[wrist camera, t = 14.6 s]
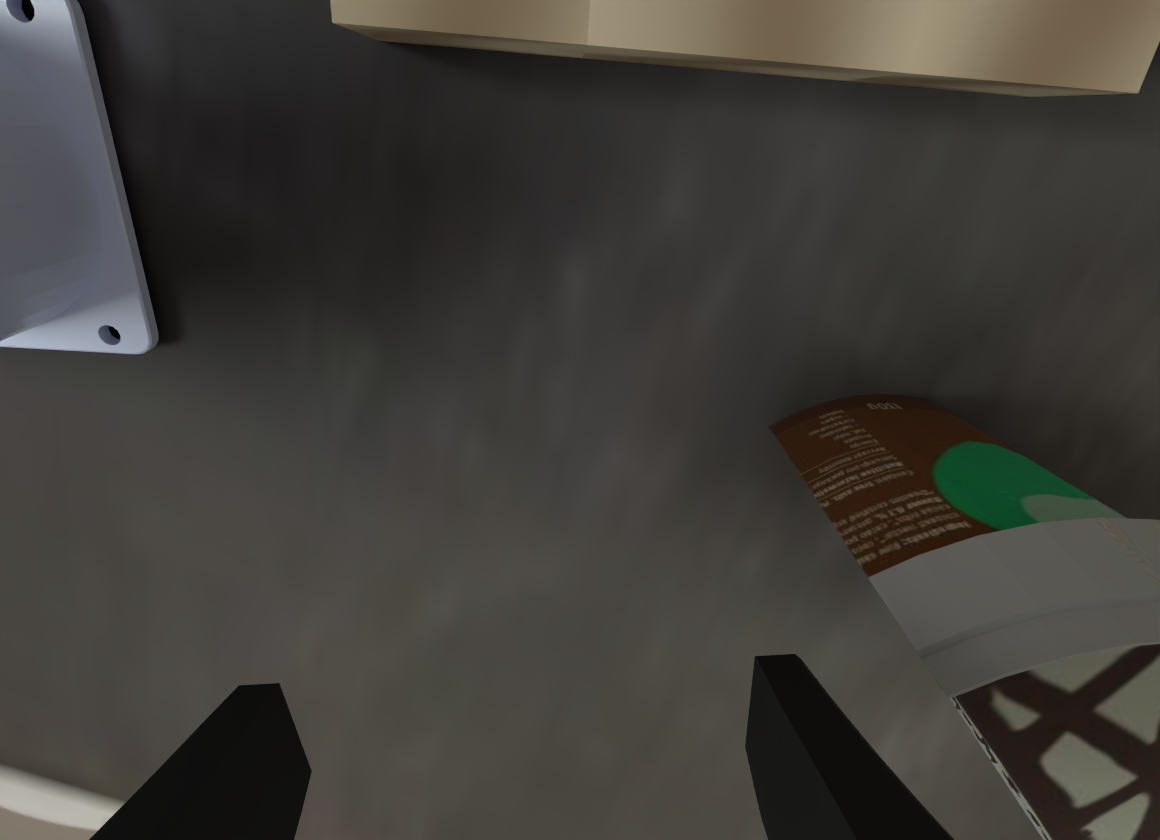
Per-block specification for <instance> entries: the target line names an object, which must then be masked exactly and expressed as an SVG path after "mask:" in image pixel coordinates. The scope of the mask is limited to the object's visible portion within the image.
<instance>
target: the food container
mask: <svg viewBox="0 0 1160 840" xmlns="http://www.w3.org/2000/svg"><path fill="white" fill-rule="evenodd" d="M769 429H770V430H771V432H772V433H773V435H774V436H775V438H776V439H777V441H778V442H779V444H780V445H781V447H782V448H783V450H784V451H785V453H786V454H787V456H788V457H789V459H790V461H791V462H792V464H793V465H794V467H795V468H796V470H797V471H798V473H799V474H800V476H801V477H802V479H803V480H804V482H805V483H806V485H807V486H808V488H809V489H810V491H811V492H812V494H813V495H814V497H815V498H816V500H817V501H818V503H819V504H820V506H821V507H822V509H823V510H824V512H825V513H826V515H827V516H828V518H829V519H830V521H831V522H832V524H833V525H834V527H835V529H836V530H837V532H838V533H839V535H840V536H841V538H842V539H843V541H844V542H845V544H846V545H847V547H848V548H849V550H850V551H851V553H852V554H853V556H854V557H855V559H856V560H857V562H858V563H859V565H860V566H861V568H862V569H863V571H864V572H865V574H866V575H867V577H868V579H869V580H870V582H871V583H872V585H873V586H874V588H875V589H876V591H877V592H878V594H879V595H880V597H881V598H882V600H883V601H884V603H885V604H886V606H887V607H888V609H889V610H890V612H891V613H892V615H893V616H894V618H895V619H896V621H897V622H898V624H899V625H900V627H901V628H902V630H903V631H904V633H905V634H906V636H907V637H908V639H909V640H910V642H911V643H912V645H913V646H914V648H915V650H916V651H917V653H918V654H919V655H920V657H921V658H922V660H923V661H924V663H925V664H926V666H927V668H928V669H929V671H930V672H931V674H932V675H933V677H934V678H935V680H936V681H937V683H938V684H939V686H940V687H941V689H942V690H943V692H944V693H945V695H946V696H947V698H948V699H950V700H951V701H952V703H953V704H954V706H955V707H956V709H957V710H958V712H959V713H960V715H961V716H962V718H963V719H964V721H965V722H966V724H967V725H968V727H969V728H970V730H971V731H972V733H973V734H974V736H975V737H976V739H977V741H978V742H979V744H980V745H981V747H982V748H983V750H984V751H985V753H986V754H987V756H988V757H989V759H990V760H991V762H992V763H993V765H994V766H995V768H996V769H997V771H998V772H999V774H1000V775H1001V777H1002V778H1003V780H1004V781H1005V783H1006V784H1007V786H1008V787H1009V789H1010V790H1011V792H1012V793H1013V795H1014V796H1015V798H1016V799H1017V801H1018V802H1019V804H1020V805H1021V807H1022V808H1023V810H1024V811H1025V813H1026V814H1027V816H1028V817H1029V819H1030V820H1031V822H1032V823H1033V825H1034V826H1035V828H1036V829H1037V831H1038V832H1039V834H1040V835H1041V837H1042V838H1043V840H1160V520H1153V519H1129V518H1126V517H1124V516H1122V515H1121V514H1119V513H1117V512H1116V511H1114V510H1112V509H1111V508H1109V507H1107V506H1106V505H1104V504H1102V503H1101V502H1099V501H1097V500H1096V499H1094V498H1092V497H1091V496H1089V495H1087V494H1086V493H1084V492H1082V491H1081V490H1079V489H1078V488H1076V487H1074V486H1073V485H1071V484H1069V483H1068V482H1066V481H1064V480H1063V479H1061V478H1059V477H1058V476H1056V475H1054V474H1053V473H1051V472H1049V471H1048V470H1046V469H1044V468H1043V467H1041V466H1039V465H1038V464H1036V463H1034V462H1033V461H1031V460H1029V459H1028V458H1026V457H1025V456H1023V455H1021V454H1020V453H1018V452H1016V451H1015V450H1013V449H1011V448H1010V447H1008V446H1006V445H1005V444H1003V443H1001V442H1000V441H998V440H996V439H995V438H993V437H991V436H990V435H988V434H986V433H985V432H983V431H981V430H980V429H978V428H976V427H975V426H973V425H972V424H970V423H968V422H967V421H965V420H963V419H962V418H960V417H958V416H957V415H955V414H953V413H952V412H950V411H948V410H947V409H945V408H943V407H940V406H937V405H935V404H932V403H930V402H927V401H924V400H921V399H915V398H910V397H905V396H900V395H877V394H873V395H863V396H853V397H846V398H842V399H837V400H833V401H829V402H825V403H821V404H818V405H815V406H813V407H810V408H807V409H805V410H802V411H800V412H797V413H794V414H793V415H791V416H789V417H787V418H785V419H783V420H781V421H779V422H778V423H776V424H774V425H772V426H770V427H769Z"/></svg>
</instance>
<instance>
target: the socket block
mask: <svg viewBox="0 0 1160 840" xmlns="http://www.w3.org/2000/svg"><path fill="white" fill-rule="evenodd" d="M330 3H331V14H332V23H334V24H337V25H339V26H342V27H344V28H347V29H349V30H352V31H355V32H357V33H360V34H362V35H365V36H367V37H370V38H372V39H375V40H377V41H389V42H400V43H412V44H424V45H435V46H447V47H458V48H470V49H482V50H493V51H505V52H516V53H528V54H539V55H551V56H563V57H574V58H586V59H597V60H609V61H620V62H632V63H644V64H655V65H667V66H678V67H690V68H701V69H713V70H725V71H736V72H748V73H759V74H771V75H782V76H794V77H806V78H817V79H829V80H840V81H852V82H864V83H875V84H887V85H898V86H910V87H921V88H933V89H945V90H956V91H968V92H979V93H991V94H1002V95H1014V96H1026V97H1045V96H1074V95H1103V94H1133V93H1139V90H1140V88H1141V85H1142V83H1143V80H1144V78H1145V76H1146V73H1147V71H1148V68H1149V66H1150V64H1151V61H1152V59H1153V56H1154V54H1155V51H1156V49H1157V47H1158V44H1159V42H1160V0H330Z"/></svg>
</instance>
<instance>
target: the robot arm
mask: <svg viewBox="0 0 1160 840" xmlns="http://www.w3.org/2000/svg"><path fill="white" fill-rule="evenodd" d="M30 1H31V3H32V5H33V7H34V14H35V16H34V18H33V19H32V21H30V20H29V19H28V18H26V16H25V14H24V12H23V10H22V0H0V347H14V348H31V349H49V350H67V351H85V352H103V353H120V354H143V353H145V352H147V351H148V350H150V349H152V348H153V347H155V346H156V344H157V342H158V340H159V338H158V329H157V325H156V321H155V317H154V312H153V308H152V304H151V300H150V295H149V291H148V287H147V283H146V278H145V274H144V270H143V266H142V261H141V257H140V253H139V249H138V244H137V240H136V236H135V232H134V227H133V223H132V219H131V214H130V210H129V206H128V202H127V197H126V193H125V189H124V185H123V180H122V176H121V172H120V168H119V163H118V159H117V155H116V151H115V146H114V142H113V138H112V134H111V129H110V125H109V121H108V117H107V112H106V108H105V104H104V100H103V95H102V91H101V87H100V83H99V78H98V74H97V70H96V65H95V61H94V57H93V53H92V48H91V44H90V40H89V36H88V31H87V27H86V23H85V19H84V14H83V12H82V9H81V7H80V4H79V3H78V1H77V0H30ZM109 326H112V327H114V328H115V329H116V330H117V331H118V332H119V334H120V336H121V339H120V340H119V339H116V338H115V337H114V336H112V335H111V333H110V331H109ZM745 747H746V752H747V756H748V761H749V765H750V770H751V775H752V779H753V784H754V788H755V792H756V797H757V801H758V805H759V809H760V814H761V818H762V821H763V825H764V828H765V831H766V834H767V837H768V840H954V839H953V838H952V837H951V836H950V835H949V834H948V833H947V831H946V830H945V829H944V828H943V827H942V826H941V825H940V824H939V823H938V822H937V821H936V820H935V818H934V817H933V816H932V815H931V814H930V813H929V812H928V811H927V810H926V809H925V808H924V806H923V805H922V804H921V803H920V802H919V801H918V800H917V799H916V797H915V796H914V795H913V794H912V793H911V792H910V791H909V789H908V788H907V787H906V786H905V785H904V784H903V783H902V782H901V780H900V779H899V778H898V777H897V776H896V775H895V774H894V772H893V771H892V770H891V769H890V768H889V767H888V766H887V764H886V763H885V762H884V761H883V760H882V759H881V758H880V756H879V755H878V754H877V753H876V752H875V751H874V749H873V748H872V747H871V746H870V745H869V743H868V742H867V741H866V740H865V739H864V737H863V736H862V735H861V734H860V733H859V731H858V730H857V729H856V728H855V727H854V725H853V724H852V723H851V722H850V720H849V719H848V718H847V717H846V716H845V714H844V713H843V712H842V711H841V709H840V708H839V707H838V706H837V704H836V703H835V702H834V701H833V699H832V698H831V697H830V696H829V694H828V693H827V692H826V691H825V689H824V688H823V687H822V685H821V684H820V683H819V682H818V680H817V679H816V678H815V676H814V675H813V674H812V673H811V671H810V670H809V669H808V667H807V666H806V665H805V664H804V662H803V661H802V660H801V659H800V658H799V657H798V656H797V655H796V654H788V655H770V656H755V661H754V670H753V680H752V689H751V698H750V707H749V717H748V726H747V735H746V744H745ZM311 772H312V771H311V768H310V766H309V763H308V760H307V757H306V755H305V752H304V749H303V747H302V744H301V741H300V738H299V736H298V733H297V730H296V727H295V725H294V722H293V719H292V717H291V714H290V711H289V708H288V706H287V703H286V700H285V697H284V695H283V692H282V689H281V687H280V684H279V683H275V684H258V685H240V686H238V687H237V688H236V689H235V690H234V691H233V692H232V693H231V694H230V695H229V696H228V697H227V698H226V699H225V700H224V701H223V702H222V703H221V704H220V706H219V707H218V708H217V709H216V710H215V711H214V712H213V713H212V714H211V715H210V716H209V717H208V718H207V719H206V720H205V721H204V722H203V723H202V724H201V725H200V726H199V727H198V728H197V729H196V730H195V732H194V733H193V734H192V735H191V736H190V737H189V738H188V739H187V740H186V741H185V742H184V743H183V744H182V745H181V746H180V747H179V748H178V749H177V750H176V751H175V752H174V753H173V754H172V756H171V757H170V758H169V759H168V760H167V761H166V762H165V763H164V764H163V765H162V766H161V767H160V768H159V769H158V770H157V771H156V772H155V773H154V774H153V775H152V776H151V777H150V778H149V779H148V780H147V782H146V783H145V784H144V785H143V786H142V787H141V788H140V789H139V790H138V791H137V792H136V793H135V794H134V795H133V796H132V797H131V798H130V799H129V800H128V801H127V802H126V803H125V804H124V805H123V806H122V807H121V808H120V809H119V810H118V811H117V812H116V813H115V814H114V815H113V816H112V817H111V818H110V819H109V820H108V821H107V822H106V823H105V824H104V825H103V826H102V827H101V828H100V829H99V830H98V831H97V832H96V833H95V834H94V835H93V836H92V837H91V838H90V839H89V840H294V837H295V834H296V830H297V826H298V823H299V819H300V816H301V812H302V808H303V804H304V800H305V796H306V792H307V788H308V784H309V780H310V776H311Z"/></svg>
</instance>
